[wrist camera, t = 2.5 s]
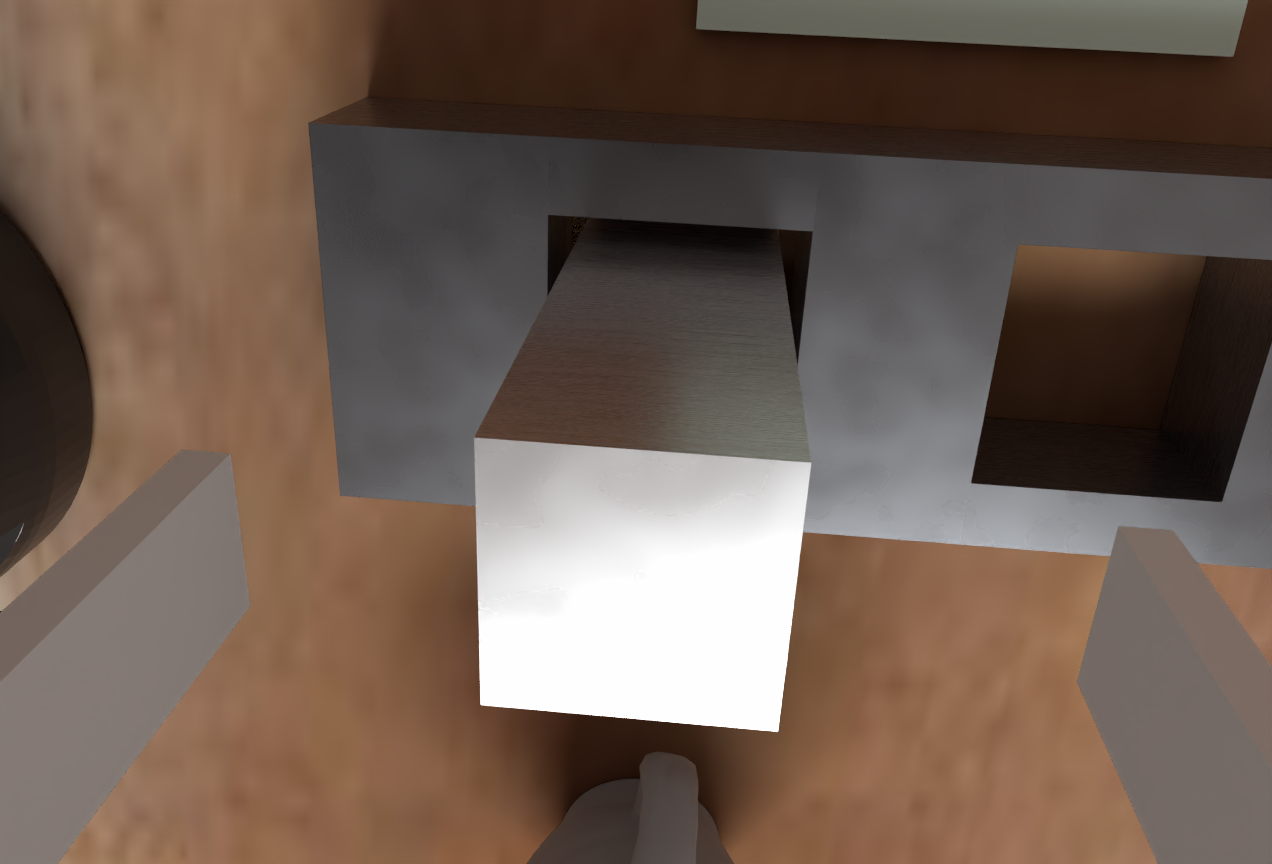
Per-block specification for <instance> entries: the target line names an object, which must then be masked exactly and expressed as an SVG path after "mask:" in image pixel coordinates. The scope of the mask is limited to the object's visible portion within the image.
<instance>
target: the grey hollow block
mask: <svg viewBox="0 0 1272 864" xmlns="http://www.w3.org/2000/svg"><path fill="white" fill-rule="evenodd" d="M308 124H309V136H310V147H311V159H312V171H313V183H314V194H315V206H316V218H317V229H318V241H319V253H320V265H321V276H322V288H323V300H324V311H325V323H326V335H327V347H328V358H329V370H330V382H331V393H332V405H333V417H334V429H335V440H336V452H337V464H338V475H339V487H340V496H353V497H366V498H378V499H391V500H404V501H416V502H429V503H442V504H454V505H467V506H476V493H475V452H474V437H475V435H476V433H477V431H478V429H479V427H480V425H481V423H482V421H483V420H484V418H485V416H486V414H487V412H488V410H489V408H490V406H491V404H492V402H493V400H494V398H495V397H496V395H497V393H498V391H499V389H500V387H501V385H502V383H503V381H504V379H505V377H506V375H507V373H508V372H509V370H510V368H511V366H512V364H513V362H514V360H515V358H516V356H517V354H518V352H519V350H520V349H521V347H522V345H523V343H524V341H525V339H526V337H527V335H528V333H529V331H530V329H531V327H532V325H533V324H534V322H535V320H536V318H537V316H538V314H539V312H540V310H541V308H542V306H543V304H544V302H545V300H546V299H547V297H548V295H549V293H550V291H551V289H552V287H553V285H554V283H555V281H556V279H557V277H558V276H559V274H560V272H561V270H562V268H563V266H564V264H565V262H566V260H567V258H568V256H569V254H570V252H571V251H572V227H573V216H574V217H590V218H606V219H622V220H638V221H654V222H670V223H686V224H702V225H719V226H735V227H751V228H767V229H783V230H798V237H797V246H796V255H795V265H794V274H793V283H792V293H791V302H790V317H791V324H792V331H793V338H794V345H795V352H796V359H797V366H798V373H799V380H800V387H801V394H802V401H803V408H804V415H805V422H806V429H807V436H808V443H809V450H810V457H811V470H810V478H809V486H808V494H807V502H806V510H805V518H804V526H803V532H810V533H822V534H835V535H848V536H860V537H873V538H886V539H898V540H911V541H924V542H936V543H949V544H962V545H974V546H987V547H1000V548H1013V549H1025V550H1038V551H1051V552H1063V553H1076V554H1089V555H1101V556H1110V555H1111V551H1112V548H1113V544H1114V540H1115V536H1116V533H1117V529H1118V526H1125V527H1137V528H1149V529H1161V530H1173V531H1174V532H1175V534H1176V535H1177V536H1178V538H1179V539H1180V540H1181V542H1182V543H1183V545H1184V546H1185V547H1186V549H1187V550H1188V552H1189V553H1190V554H1191V556H1192V557H1193V558H1194V560H1195V561H1196V563H1203V564H1216V565H1228V566H1241V567H1254V568H1266V569H1272V148H1259V147H1242V146H1224V145H1206V144H1188V143H1171V142H1153V141H1135V140H1117V139H1100V138H1082V137H1064V136H1046V135H1029V134H1011V133H993V132H976V131H958V130H940V129H922V128H905V127H887V126H869V125H851V124H834V123H816V122H798V121H780V120H763V119H745V118H727V117H709V116H692V115H674V114H656V113H638V112H621V111H603V110H585V109H568V108H550V107H532V106H514V105H497V104H479V103H461V102H443V101H426V100H408V99H390V98H372V97H366V98H364V99H362V100H360V101H357V102H355V103H353V104H350V105H348V106H346V107H344V108H341V109H339V110H337V111H335V112H332V113H330V114H328V115H325V116H323V117H321V118H319V119H316V120H314V121H312V122H310V123H308ZM1018 244H1023V245H1039V246H1055V247H1071V248H1087V249H1104V250H1120V251H1136V252H1152V253H1168V254H1184V255H1200V256H1208V257H1207V260H1206V264H1205V268H1204V271H1203V275H1202V279H1201V282H1200V286H1199V290H1198V293H1197V297H1196V300H1195V304H1194V308H1193V311H1192V315H1191V319H1190V322H1189V326H1188V330H1187V333H1186V337H1185V340H1184V344H1183V348H1182V351H1181V355H1180V359H1179V362H1178V366H1177V370H1176V373H1175V377H1174V380H1173V384H1172V388H1171V391H1170V395H1169V399H1168V402H1167V406H1166V410H1165V413H1164V417H1163V420H1162V424H1161V428H1160V430H1156V429H1142V428H1128V427H1114V426H1100V425H1086V424H1072V423H1058V422H1045V421H1031V420H1017V419H1003V418H989V417H984V414H985V409H986V404H987V399H988V394H989V389H990V384H991V379H992V374H993V369H994V364H995V359H996V354H997V349H998V343H999V338H1000V333H1001V328H1002V323H1003V318H1004V313H1005V308H1006V303H1007V298H1008V293H1009V288H1010V283H1011V277H1012V272H1013V267H1014V262H1015V257H1016V252H1017V247H1018Z"/></svg>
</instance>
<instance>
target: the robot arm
mask: <svg viewBox="0 0 1272 864" xmlns="http://www.w3.org/2000/svg"><path fill="white" fill-rule="evenodd" d="M91 435H92V404H91V393H90V386H89V380H88V374H87V370H86V365H85V361H84V357H83V354H82V350H81V347H80V344H79V341H78V338H77V335H76V332H75V330H74V327H73V324H72V322H71V319H70V317H69V315H68V313H67V310H66V308H65V306H64V304H63V302H62V300H61V298H60V296H59V294H58V292H57V290H56V288H55V286H54V285H53V283H52V281H51V279H50V278H49V276H48V274H47V273H46V271H45V269H44V268H43V266H42V265H41V263H40V261H39V260H38V258H37V257H36V256H35V254H34V253H33V251H32V250H31V248H30V247H29V246H28V244H27V243H26V242H25V240H24V239H23V238H22V236H21V235H20V234H19V233H18V231H17V230H16V229H15V228H14V226H13V225H12V224H11V223H10V222H9V220H8V219H7V218H6V217H5V216H4V215H3V214H2V213H1V211H0V577H1V576H2V575H3V574H5V573H6V572H7V571H8V570H9V569H10V568H12V567H13V566H14V565H15V564H16V563H17V562H18V561H20V560H21V559H22V558H23V557H24V556H25V555H27V554H28V553H29V552H30V551H31V550H32V549H33V548H35V547H36V546H37V545H38V544H39V543H40V542H42V541H43V540H44V539H45V538H46V537H47V536H48V535H49V534H50V533H51V532H52V531H53V530H54V528H55V527H56V526H57V525H58V523H59V522H60V521H61V520H62V518H63V517H64V515H65V514H66V512H67V511H68V509H69V508H70V506H71V504H72V502H73V500H74V498H75V496H76V494H77V492H78V490H79V487H80V485H81V482H82V480H83V477H84V473H85V470H86V466H87V462H88V457H89V452H90V446H91ZM249 607H250V600H249V593H248V585H247V577H246V569H245V562H244V554H243V546H242V539H241V531H240V523H239V516H238V508H237V500H236V492H235V485H234V477H233V469H232V462H231V454H230V453H217V452H205V451H193V450H181V451H180V452H178V453H177V454H176V455H175V456H174V457H173V458H172V459H171V460H170V461H168V462H167V463H166V464H165V465H164V466H163V467H162V468H161V469H159V470H158V471H157V472H156V473H155V474H154V475H153V476H152V477H151V478H149V479H148V480H147V481H146V482H145V483H144V484H143V485H142V486H141V487H139V488H138V489H137V490H136V491H135V492H134V493H133V494H132V495H131V496H129V497H128V498H127V499H126V500H125V501H124V502H123V503H122V504H121V505H119V506H118V507H117V508H116V509H115V510H114V511H113V512H112V513H111V514H109V515H108V516H107V517H106V518H105V519H104V520H103V521H102V522H101V523H99V524H98V525H97V526H96V527H95V528H94V529H93V530H92V531H91V532H89V533H88V534H87V535H86V536H85V537H84V538H83V539H82V540H81V541H79V542H78V543H77V544H76V545H75V546H74V547H73V548H72V549H71V550H69V551H68V552H67V553H66V554H65V555H64V556H63V557H62V558H61V559H59V560H58V561H57V562H56V563H55V564H54V565H53V566H52V567H51V568H49V569H48V570H47V571H46V572H45V573H44V574H43V575H42V576H41V577H39V578H38V579H37V580H36V581H35V582H34V583H33V584H32V585H30V586H29V587H28V588H27V589H26V590H25V591H24V592H23V593H22V594H20V595H19V596H18V597H17V598H16V599H15V600H14V601H13V602H12V603H10V604H9V605H8V606H7V607H6V608H5V609H4V610H3V611H0V864H58V863H59V861H60V860H61V859H62V857H63V856H64V855H65V853H66V852H67V851H68V849H69V848H70V847H71V845H72V844H73V843H74V841H75V840H76V839H77V837H78V836H79V835H80V833H81V832H82V831H83V829H84V828H85V827H86V825H87V824H88V823H89V821H90V820H91V819H92V817H93V816H94V815H95V813H96V812H97V811H98V809H99V808H100V807H101V805H102V804H103V803H104V801H105V800H106V799H107V797H108V796H109V794H110V793H111V792H112V790H113V789H114V788H115V786H116V785H117V784H118V782H119V781H120V780H121V778H122V777H123V776H124V774H125V773H126V772H127V770H128V769H129V768H130V766H131V765H132V764H133V762H134V761H135V760H136V758H137V757H138V756H139V754H140V753H141V752H142V750H143V749H144V748H145V746H146V745H147V744H148V742H149V741H150V740H151V738H152V737H153V736H154V734H155V733H156V732H157V730H158V729H159V728H160V726H161V725H162V724H163V722H164V721H165V720H166V718H167V717H168V716H169V714H170V713H171V712H172V710H173V709H174V708H175V706H176V705H177V703H178V702H179V701H180V699H181V698H182V697H183V695H184V694H185V693H186V691H187V690H188V689H189V687H190V686H191V685H192V683H193V682H194V681H195V679H196V678H197V677H198V675H199V674H200V673H201V671H202V670H203V669H204V667H205V666H206V665H207V663H208V662H209V661H210V659H211V658H212V657H213V655H214V654H215V653H216V651H217V650H218V649H219V647H220V646H221V645H222V643H223V642H224V641H225V639H226V638H227V637H228V635H229V634H230V633H231V631H232V630H233V629H234V627H235V626H236V625H237V623H238V622H239V621H240V619H241V618H242V616H243V615H244V614H245V612H246V611H247V610H248V608H249ZM1077 683H1078V685H1079V687H1080V690H1081V692H1082V694H1083V696H1084V699H1085V701H1086V703H1087V705H1088V708H1089V710H1090V712H1091V714H1092V717H1093V719H1094V721H1095V723H1096V726H1097V728H1098V730H1099V732H1100V735H1101V737H1102V739H1103V741H1104V744H1105V746H1106V748H1107V750H1108V753H1109V755H1110V757H1111V759H1112V762H1113V764H1114V766H1115V768H1116V771H1117V773H1118V775H1119V777H1120V780H1121V782H1122V784H1123V786H1124V789H1125V791H1126V793H1127V795H1128V798H1129V800H1130V802H1131V804H1132V807H1133V809H1134V811H1135V813H1136V815H1137V818H1138V820H1139V822H1140V824H1141V827H1142V829H1143V831H1144V833H1145V836H1146V838H1147V840H1148V842H1149V845H1150V847H1151V849H1152V851H1153V854H1154V856H1155V858H1156V860H1157V863H1158V864H1272V666H1271V665H1270V664H1269V662H1268V661H1267V659H1266V658H1265V657H1264V655H1263V654H1262V653H1261V651H1260V650H1259V648H1258V647H1257V646H1256V644H1255V643H1254V641H1253V640H1252V639H1251V637H1250V636H1249V635H1248V633H1247V632H1246V630H1245V629H1244V628H1243V626H1242V625H1241V623H1240V622H1239V621H1238V619H1237V618H1236V617H1235V615H1234V614H1233V612H1232V611H1231V610H1230V608H1229V607H1228V605H1227V604H1226V603H1225V601H1224V600H1223V599H1222V597H1221V596H1220V594H1219V593H1218V592H1217V590H1216V589H1215V588H1214V586H1213V585H1212V583H1211V582H1210V581H1209V579H1208V578H1207V576H1206V575H1205V574H1204V572H1203V571H1202V570H1201V568H1200V567H1199V565H1198V564H1197V563H1196V561H1195V560H1194V558H1193V557H1192V556H1191V554H1190V553H1189V552H1188V550H1187V549H1186V547H1185V546H1184V545H1183V543H1182V542H1181V540H1180V539H1179V538H1178V536H1177V535H1176V534H1175V532H1174V531H1173V530H1161V529H1149V528H1137V527H1125V526H1118V529H1117V533H1116V536H1115V540H1114V544H1113V548H1112V551H1111V555H1110V559H1109V563H1108V567H1107V570H1106V574H1105V578H1104V582H1103V585H1102V589H1101V593H1100V597H1099V600H1098V604H1097V608H1096V612H1095V615H1094V619H1093V623H1092V627H1091V630H1090V634H1089V638H1088V642H1087V646H1086V649H1085V653H1084V657H1083V661H1082V664H1081V668H1080V672H1079V676H1078V679H1077Z"/></svg>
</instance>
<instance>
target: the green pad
mask: <svg viewBox="0 0 1272 864" xmlns="http://www.w3.org/2000/svg"><path fill="white" fill-rule="evenodd" d="M1247 3H1248V0H698V7H697V23H696V29H703V30H722V31H742V32H761V33H781V34H800V35H819V36H839V37H858V38H878V39H897V40H916V41H936V42H955V43H974V44H994V45H1013V46H1033V47H1052V48H1071V49H1091V50H1110V51H1129V52H1149V53H1168V54H1188V55H1207V56H1226V57H1233V56H1234V52H1235V49H1236V45H1237V41H1238V37H1239V33H1240V30H1241V26H1242V22H1243V18H1244V14H1245V11H1246V7H1247Z"/></svg>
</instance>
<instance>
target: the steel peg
mask: <svg viewBox="0 0 1272 864" xmlns="http://www.w3.org/2000/svg"><path fill="white" fill-rule="evenodd" d="M474 452H475V493H476V534H477V575H478V616H479V657H480V698H481V705H487V706H498V707H509V708H520V709H531V710H543V711H554V712H565V713H576V714H587V715H598V716H609V717H621V718H632V719H643V720H654V721H665V722H676V723H688V724H699V725H710V726H721V727H732V728H743V729H754V730H766V731H777V732H778V727H779V719H780V711H781V703H782V695H783V687H784V679H785V671H786V663H787V655H788V647H789V639H790V630H791V622H792V614H793V606H794V598H795V590H796V582H797V574H798V566H799V558H800V550H801V542H802V534H803V526H804V518H805V510H806V502H807V494H808V486H809V478H810V470H811V457H810V450H809V443H808V436H807V429H806V422H805V415H804V408H803V401H802V394H801V387H800V380H799V373H798V366H797V359H796V352H795V345H794V338H793V331H792V324H791V317H790V310H789V303H788V296H787V289H786V282H785V275H784V268H783V261H782V254H781V247H780V240H779V233H778V229H767V228H751V227H735V226H719V225H702V224H686V223H670V222H654V221H638V220H622V219H606V218H590V217H589V218H588V220H587V222H586V224H585V226H584V228H583V229H582V231H581V233H580V235H579V237H578V239H577V241H576V243H575V245H574V247H573V249H572V251H571V252H570V254H569V256H568V258H567V260H566V262H565V264H564V266H563V268H562V270H561V272H560V274H559V276H558V277H557V279H556V281H555V283H554V285H553V287H552V289H551V291H550V293H549V295H548V297H547V299H546V300H545V302H544V304H543V306H542V308H541V310H540V312H539V314H538V316H537V318H536V320H535V322H534V324H533V325H532V327H531V329H530V331H529V333H528V335H527V337H526V339H525V341H524V343H523V345H522V347H521V349H520V350H519V352H518V354H517V356H516V358H515V360H514V362H513V364H512V366H511V368H510V370H509V372H508V373H507V375H506V377H505V379H504V381H503V383H502V385H501V387H500V389H499V391H498V393H497V395H496V397H495V398H494V400H493V402H492V404H491V406H490V408H489V410H488V412H487V414H486V416H485V418H484V420H483V421H482V423H481V425H480V427H479V429H478V431H477V433H476V435H475V437H474Z"/></svg>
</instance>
